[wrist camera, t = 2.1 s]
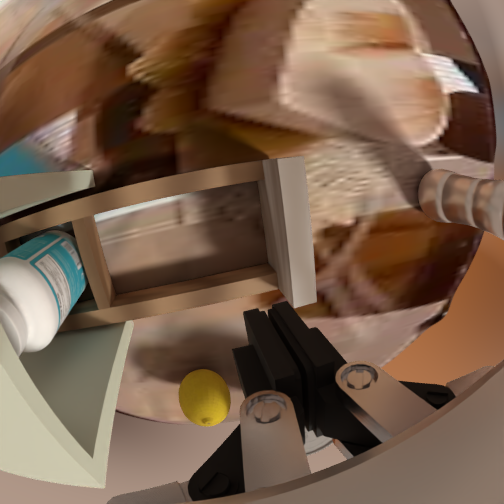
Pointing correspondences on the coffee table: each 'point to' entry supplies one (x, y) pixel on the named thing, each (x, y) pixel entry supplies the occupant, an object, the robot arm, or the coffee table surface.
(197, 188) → the wooden compartment tray
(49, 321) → the pill bottle
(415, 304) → the coffee table surface
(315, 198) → the coffee table surface
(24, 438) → the tunnel
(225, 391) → the lemon
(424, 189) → the plastic bottle
